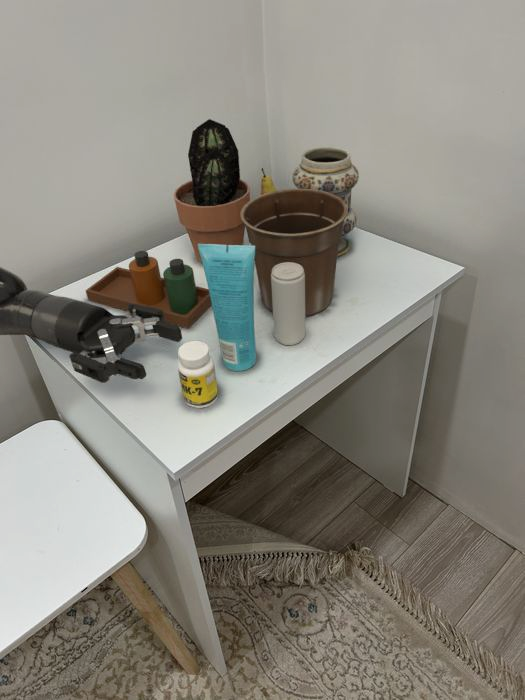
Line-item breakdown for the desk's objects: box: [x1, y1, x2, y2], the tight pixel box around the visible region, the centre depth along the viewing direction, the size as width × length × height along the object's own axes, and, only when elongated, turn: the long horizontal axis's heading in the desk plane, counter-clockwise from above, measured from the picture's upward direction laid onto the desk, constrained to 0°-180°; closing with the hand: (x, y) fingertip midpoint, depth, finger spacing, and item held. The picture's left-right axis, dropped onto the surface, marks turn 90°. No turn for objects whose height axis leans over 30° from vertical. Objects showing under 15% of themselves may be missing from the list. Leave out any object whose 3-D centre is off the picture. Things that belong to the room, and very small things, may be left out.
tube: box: [198, 244, 257, 372], centre depth 75 cm, size 7×5×19 cm, turn 85°
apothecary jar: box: [291, 146, 360, 258], centre depth 100 cm, size 12×12×18 cm
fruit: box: [260, 167, 277, 195], centre depth 113 cm, size 6×6×12 cm
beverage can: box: [271, 262, 306, 346], centre depth 81 cm, size 5×5×12 cm
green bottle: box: [162, 258, 198, 315], centre depth 89 cm, size 5×5×9 cm
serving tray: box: [85, 266, 212, 330], centre depth 94 cm, size 21×9×2 cm, turn 63°
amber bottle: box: [128, 250, 165, 305], centre depth 92 cm, size 5×5×9 cm
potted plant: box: [173, 118, 251, 265], centre depth 98 cm, size 14×14×25 cm
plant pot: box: [241, 188, 348, 317], centre depth 88 cm, size 16×16×16 cm
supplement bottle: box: [177, 340, 219, 409], centre depth 73 cm, size 5×5×8 cm
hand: (162, 353), depth 74 cm, fingers open, 8 cm apart
